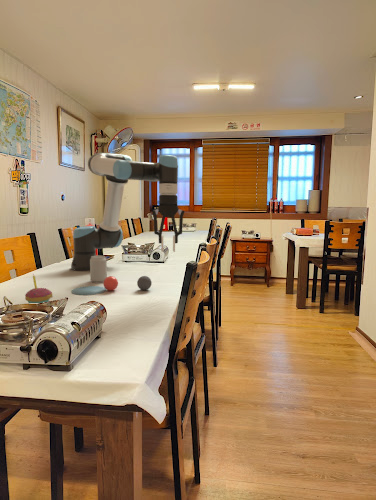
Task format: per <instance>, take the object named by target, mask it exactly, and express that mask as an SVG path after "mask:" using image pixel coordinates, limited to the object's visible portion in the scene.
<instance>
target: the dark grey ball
mask: <svg viewBox="0 0 376 500" xmlns="http://www.w3.org/2000/svg"><path fill="white" fill-rule="evenodd" d="M136 283H137V287H138V289H140V290H142V291H147V290H149V289H150V288H151V286H152V280H151V278H150V277H149V276H147V275H142V276H140V277H139V278H138V279H137V282H136Z"/></svg>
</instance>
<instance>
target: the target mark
mask: <svg viewBox="0 0 376 500" xmlns="http://www.w3.org/2000/svg"><path fill="white" fill-rule="evenodd" d="M106 291H107V289H105V287H104V286H99V285H89V286H79V287H76V288H73V289H72V290H71V293H72V294H73V295H78V296H92V295H93V296H94V295H100V294H103V293H104V292H106Z"/></svg>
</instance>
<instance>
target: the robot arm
mask: <svg viewBox="0 0 376 500" xmlns="http://www.w3.org/2000/svg"><path fill="white" fill-rule="evenodd" d="M87 160H88V161H87V167H88V169H89V171H90V172H91V173H92V174H93V175H95V176H99V177H105V180H106V181H107V187H106V195H105V202H104V210H103V216H102V217H103V218H102V222H100V223H99V225H98V227H96V226H94V225H86V226H79V227H76V228H75V229H74V230H73V234H72V238H73V239H72V240H73V258H72V260H71V261H72V262H71V265H70V269H71V270H73V271H79V272H80V271H83V272H84V271H85V272H87V271H90V259H91V258H92V257H91V256H97V251H96V250H99V249H114V248H118V247H120V245H121V244H122V242H123V238H124V235H123V234H124V233H123V230H122V228H121V226H120V224H119V220H120V214H121V210H122V209H121V208H122V202H123V196H124V189H125V185H126V184H128V183H129V180H130V181H147V182H152V183H155V182H158V191H159V192H158V194H159V197H158V206H157V208H155V209H153V210H152V211H151V212H152V215H153V231H154V233H153V234H154V235H157V236H158V244H161V247H160V248H161V252H163V253H164V235H162V234H163V230H164V227H165V225H164V224H165V221H166V218H171V222H172V223H171V224H172V227H173V232H174V235H172V252H173V253H174V252H176V244H178V242H179V235H182V234H183V222H184V219H183V218H184V214H185V210H183V209H180V208H179V206H178V194H179V193H178V189H179V188H178V179H179V177H178V174H179V173H178V172H179V170H178V169H179V165H178V157H177V156H175V155H170V154H169V155H168V154H165V155H160V156H159V158H158V162H147V161H145V162H144V161H135V160H133V159H132V158H131V156H129V155H125V154H123V153H122V154H120V153H119V154H118V153H109V152H96V153H94V154H92V155H91V156H90V157H89V158H88V159H87ZM158 213H160V215H161V216H162V217H161V221H160V227H159V231H158V217H157V215H159V214H158ZM177 213H178V215H179V217H178V219H179V221H178V227H179V228H178V229H177V224H176V219H175V216H176V214H177Z"/></svg>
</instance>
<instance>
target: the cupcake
mask: <svg viewBox="0 0 376 500" xmlns="http://www.w3.org/2000/svg"><path fill="white" fill-rule="evenodd" d="M32 280H33V285H34V287H33V288H32V289H30V290H28V291H26V293H25V294H24V296H25V298H24V299H25V301H26V302H27V303H28V304H29V303H43V302H48V303H49V301H50V299H51V298H53V292H52V291H51V290H49V289H48V288H45V287H38V286H37V281H36V276H35V275H34V273H32Z"/></svg>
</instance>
